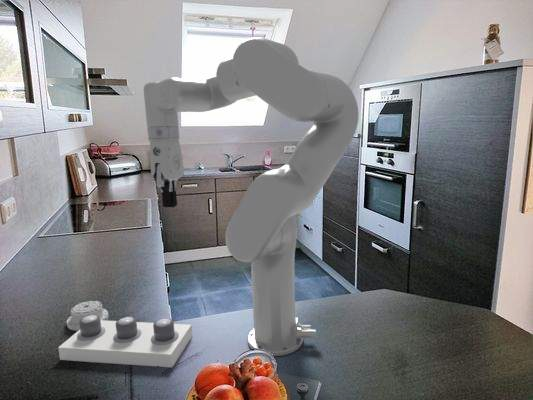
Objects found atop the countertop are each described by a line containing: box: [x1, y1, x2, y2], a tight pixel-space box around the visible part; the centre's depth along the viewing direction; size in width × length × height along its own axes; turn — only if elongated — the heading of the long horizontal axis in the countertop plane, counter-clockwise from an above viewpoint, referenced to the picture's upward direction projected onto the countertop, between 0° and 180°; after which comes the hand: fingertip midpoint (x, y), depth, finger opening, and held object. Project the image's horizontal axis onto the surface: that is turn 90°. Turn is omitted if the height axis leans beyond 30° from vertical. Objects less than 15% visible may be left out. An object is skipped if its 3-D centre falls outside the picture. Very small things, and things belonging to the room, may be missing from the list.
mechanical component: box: [66, 300, 109, 332], centre depth 100 cm, size 10×4×10 cm
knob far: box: [79, 315, 102, 337], centre depth 88 cm, size 4×4×3 cm
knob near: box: [153, 318, 175, 341], centre depth 85 cm, size 4×4×3 cm
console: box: [58, 320, 193, 368], centre depth 87 cm, size 26×12×3 cm, turn 81°
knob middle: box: [116, 316, 138, 339], centre depth 87 cm, size 4×4×3 cm
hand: (170, 206), depth 98 cm, fingers closed
